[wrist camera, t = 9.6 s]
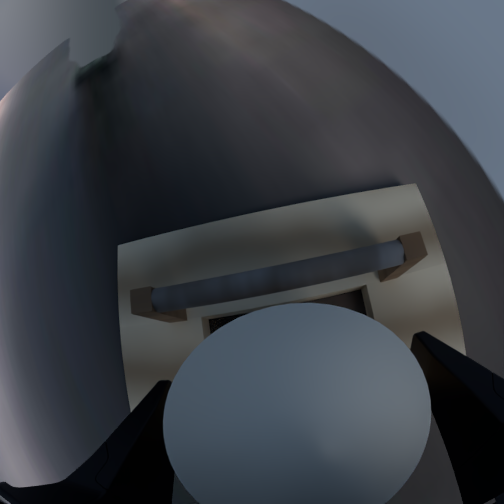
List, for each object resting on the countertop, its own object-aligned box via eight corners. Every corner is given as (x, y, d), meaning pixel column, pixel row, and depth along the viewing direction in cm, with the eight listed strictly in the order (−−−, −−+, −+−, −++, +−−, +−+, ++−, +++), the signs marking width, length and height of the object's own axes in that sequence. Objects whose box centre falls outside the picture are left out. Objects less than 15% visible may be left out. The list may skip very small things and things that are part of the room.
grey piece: (457, 377, 14) (510, 383, 8) (147, 434, 16) (96, 457, 10) (409, 193, 18) (438, 144, 13) (128, 252, 20) (80, 220, 15)
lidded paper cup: (348, 416, 14) (423, 515, 3) (250, 424, 15) (173, 530, 4) (343, 321, 16) (428, 276, 5) (244, 331, 17) (149, 302, 6)
